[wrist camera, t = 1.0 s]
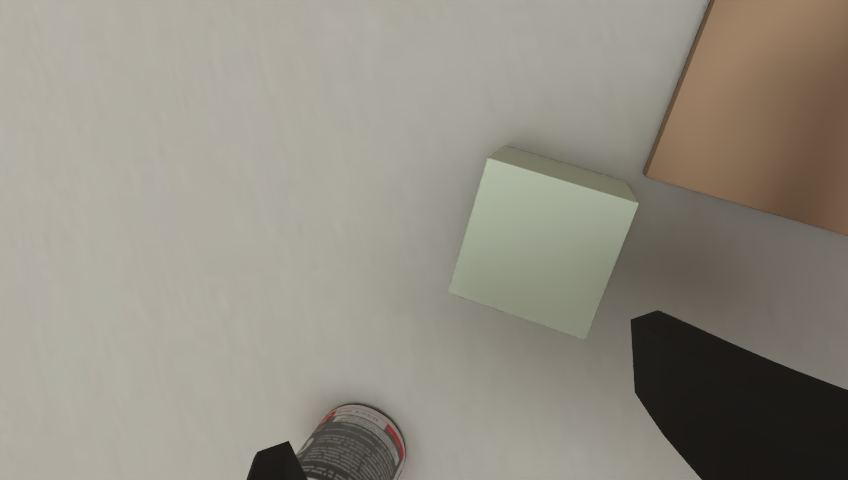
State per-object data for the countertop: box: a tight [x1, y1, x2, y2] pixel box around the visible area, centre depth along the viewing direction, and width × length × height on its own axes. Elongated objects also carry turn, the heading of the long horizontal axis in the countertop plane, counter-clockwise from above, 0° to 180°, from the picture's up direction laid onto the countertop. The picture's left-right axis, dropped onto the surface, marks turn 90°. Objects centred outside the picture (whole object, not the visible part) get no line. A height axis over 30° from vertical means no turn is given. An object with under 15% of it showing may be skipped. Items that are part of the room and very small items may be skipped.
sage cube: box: [448, 146, 639, 340], centre depth 21 cm, size 5×5×5 cm
